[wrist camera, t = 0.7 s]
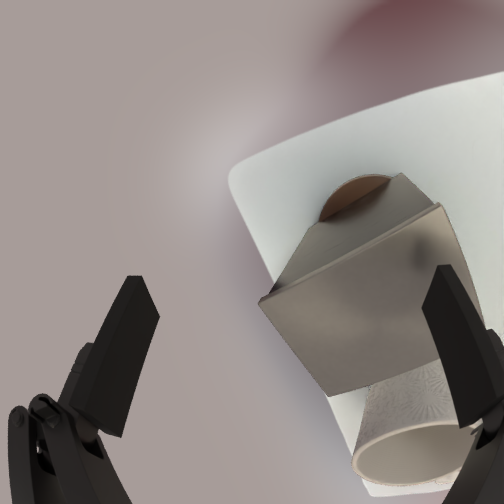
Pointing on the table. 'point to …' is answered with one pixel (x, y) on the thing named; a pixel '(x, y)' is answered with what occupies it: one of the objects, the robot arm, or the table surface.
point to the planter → (411, 430)
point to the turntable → (351, 192)
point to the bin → (366, 288)
